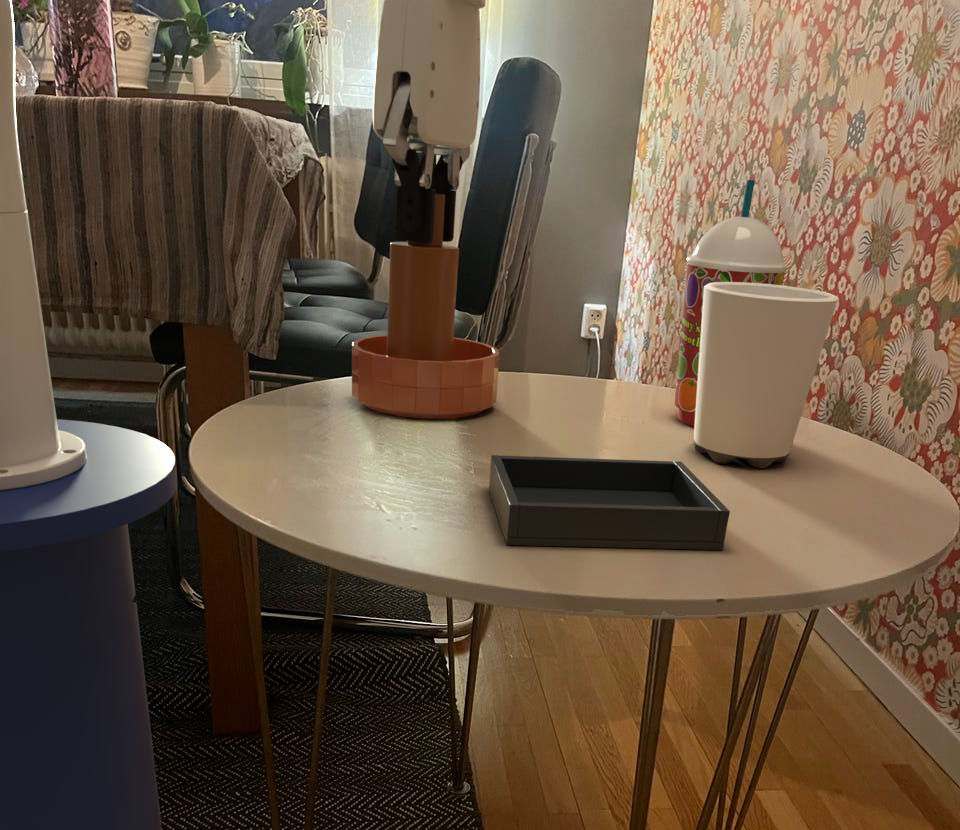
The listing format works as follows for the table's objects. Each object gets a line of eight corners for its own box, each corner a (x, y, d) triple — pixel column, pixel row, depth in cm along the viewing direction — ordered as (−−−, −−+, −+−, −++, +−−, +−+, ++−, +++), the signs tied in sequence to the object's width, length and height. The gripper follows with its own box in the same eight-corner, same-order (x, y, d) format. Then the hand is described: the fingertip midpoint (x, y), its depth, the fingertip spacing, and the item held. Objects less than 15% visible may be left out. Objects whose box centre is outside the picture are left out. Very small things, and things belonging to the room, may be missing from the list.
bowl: (350, 418, 80) (350, 357, 78) (353, 385, 91) (353, 331, 89) (502, 424, 81) (507, 364, 79) (487, 390, 93) (490, 338, 91)
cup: (654, 451, 76) (678, 284, 71) (717, 433, 83) (744, 279, 77) (765, 482, 71) (801, 302, 65) (823, 460, 77) (861, 296, 71)
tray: (506, 545, 56) (509, 504, 55) (488, 490, 65) (491, 454, 64) (722, 550, 57) (730, 511, 56) (676, 496, 66) (681, 461, 65)
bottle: (386, 382, 82) (392, 190, 75) (385, 369, 87) (391, 189, 81) (452, 386, 83) (464, 197, 76) (448, 373, 88) (459, 195, 81)
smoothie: (644, 417, 87) (678, 175, 78) (701, 407, 92) (738, 179, 83) (718, 439, 81) (764, 181, 72) (774, 427, 86) (823, 185, 77)
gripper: (441, -1, 80) (429, 235, 88) (336, -46, 66) (334, 238, 74) (523, 0, 77) (503, 243, 85) (432, -46, 64) (418, 248, 72)
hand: (425, 238), depth 80 cm, fingers closed on bottle, 3 cm apart
